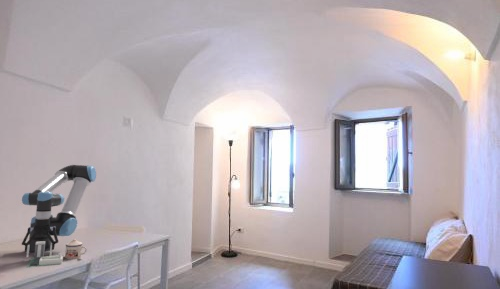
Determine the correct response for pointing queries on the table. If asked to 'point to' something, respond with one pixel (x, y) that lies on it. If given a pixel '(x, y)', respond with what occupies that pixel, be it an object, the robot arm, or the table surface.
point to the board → (36, 263)
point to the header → (51, 260)
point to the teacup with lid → (74, 250)
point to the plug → (39, 250)
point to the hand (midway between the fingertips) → (39, 256)
